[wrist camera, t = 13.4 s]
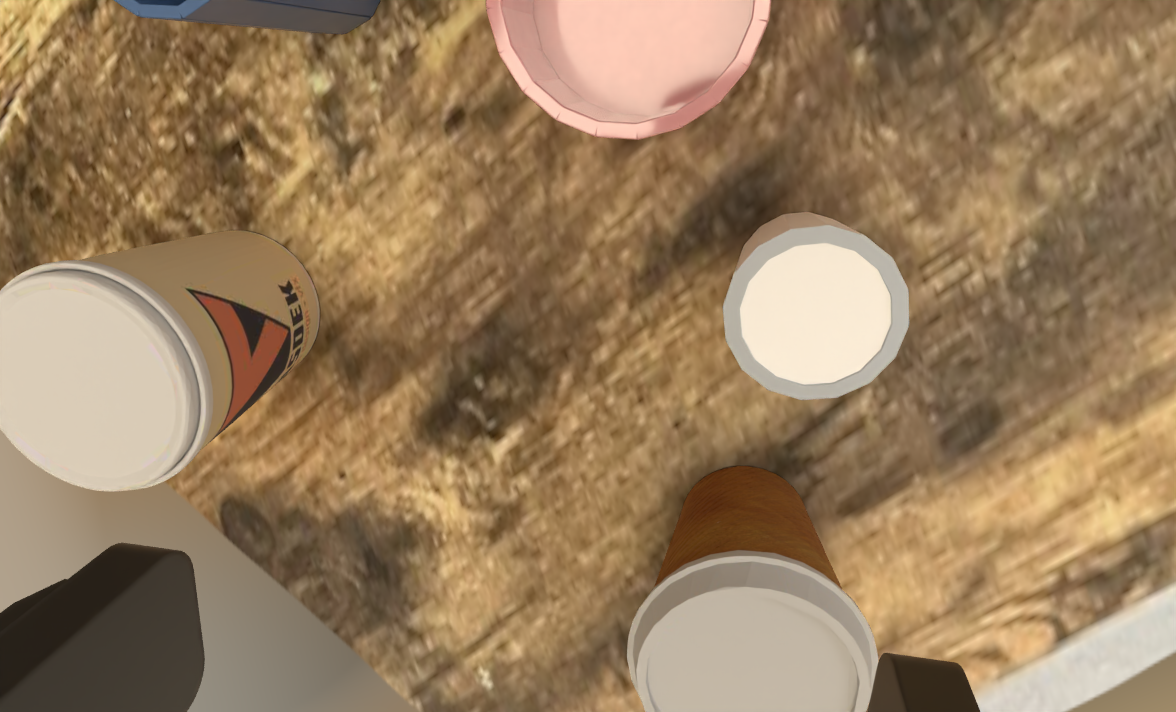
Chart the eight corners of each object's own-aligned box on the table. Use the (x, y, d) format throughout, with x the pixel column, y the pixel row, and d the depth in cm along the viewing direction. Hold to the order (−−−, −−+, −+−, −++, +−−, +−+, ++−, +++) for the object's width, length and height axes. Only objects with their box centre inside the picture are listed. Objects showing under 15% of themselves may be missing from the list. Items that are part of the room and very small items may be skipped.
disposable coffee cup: (645, 589, 44) (618, 766, 33) (655, 426, 41) (629, 561, 30) (827, 611, 43) (864, 802, 32) (853, 444, 40) (903, 592, 29)
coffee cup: (323, 410, 44) (184, 528, 32) (159, 359, 44) (-33, 458, 33) (349, 243, 40) (205, 310, 29) (172, 189, 41) (-37, 235, 30)
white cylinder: (703, 224, 37) (700, 257, 31) (857, 176, 36) (887, 200, 29) (745, 362, 39) (749, 420, 33) (893, 322, 38) (929, 375, 31)
